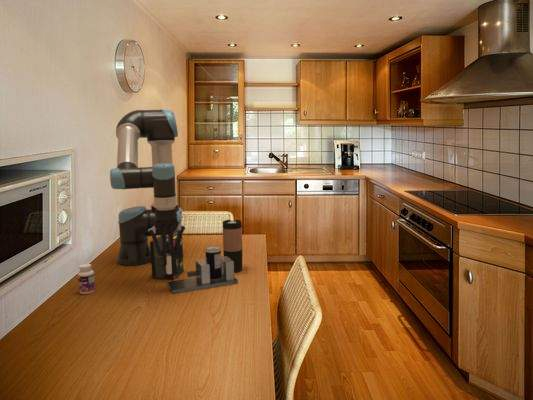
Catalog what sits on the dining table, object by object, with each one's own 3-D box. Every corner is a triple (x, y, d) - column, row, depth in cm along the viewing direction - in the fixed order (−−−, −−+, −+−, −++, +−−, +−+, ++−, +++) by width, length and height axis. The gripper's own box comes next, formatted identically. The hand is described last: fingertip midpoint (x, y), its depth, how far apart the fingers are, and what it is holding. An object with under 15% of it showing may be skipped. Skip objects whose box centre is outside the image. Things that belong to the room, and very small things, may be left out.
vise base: (167, 285, 171) (165, 263, 170) (228, 275, 180) (228, 255, 179) (172, 293, 162) (171, 271, 160) (237, 283, 171) (237, 261, 170)
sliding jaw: (185, 279, 172) (184, 261, 171) (204, 277, 175) (203, 259, 174) (191, 286, 165) (190, 267, 164) (210, 283, 168) (209, 264, 167)
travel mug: (231, 274, 182) (230, 224, 179) (220, 270, 187) (218, 221, 184) (246, 270, 187) (245, 221, 184) (235, 266, 192) (233, 218, 189)
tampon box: (174, 279, 177) (172, 242, 174) (151, 278, 179) (149, 241, 176) (184, 270, 187) (182, 235, 185) (163, 270, 189) (161, 234, 187)
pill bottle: (75, 293, 164) (73, 266, 163) (86, 288, 169) (84, 262, 167) (88, 295, 162) (85, 268, 161) (98, 290, 167) (96, 263, 166)
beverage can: (219, 275, 176) (218, 245, 175) (223, 280, 171) (222, 248, 169) (204, 277, 174) (203, 246, 172) (209, 282, 169) (207, 250, 167)
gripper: (148, 212, 156) (152, 278, 160) (186, 208, 161) (189, 273, 165) (144, 207, 163) (148, 272, 167) (181, 204, 168) (184, 267, 172)
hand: (169, 272), depth 166 cm, fingers closed
